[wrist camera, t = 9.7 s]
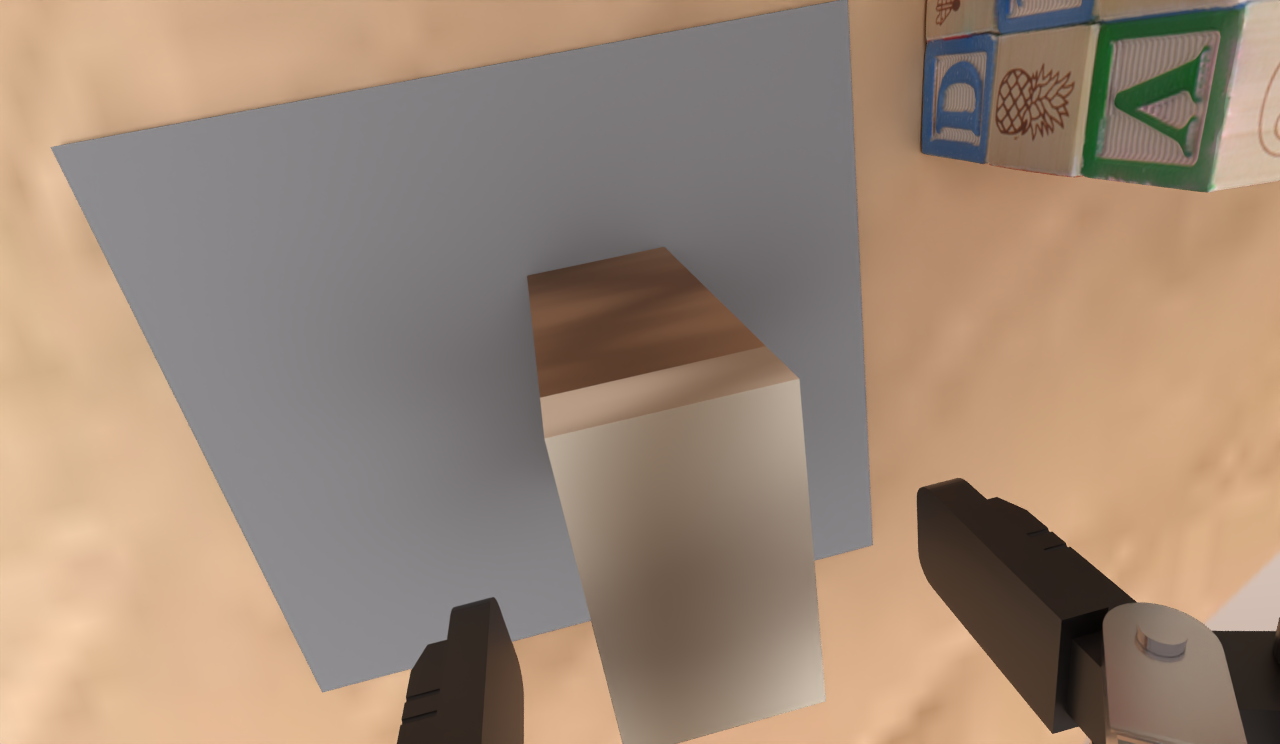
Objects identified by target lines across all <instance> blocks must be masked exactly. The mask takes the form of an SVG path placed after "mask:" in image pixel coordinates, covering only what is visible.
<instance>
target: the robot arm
mask: <svg viewBox="0 0 1280 744" xmlns="http://www.w3.org/2000/svg"><path fill="white" fill-rule="evenodd" d="M917 521H918V552H919V559H920V563H921V566H922V569H923V572H924V574H925V576H926V578H927V580H928V582H929V583H930V585H931V586H932V588H933V589H934V590H935V591H936V593H937V594H938V595H939V596H940V597H941V599H942V600H943V601H944V602H945V604H946V605H947V606H948V607H949V608H950V610H951V611H952V612H953V613H954V614H955V616H956V617H957V618H958V619H959V621H960V622H961V623H962V624H963V625H964V627H965V628H966V629H967V630H968V632H969V633H970V634H971V635H972V636H973V638H974V639H975V640H976V641H977V642H978V644H979V645H980V646H981V647H982V649H983V650H984V651H985V652H986V653H987V655H988V656H989V657H990V658H991V660H992V661H993V662H994V663H995V664H996V666H997V667H998V668H999V669H1000V670H1001V672H1002V673H1003V674H1004V675H1005V677H1006V678H1007V679H1008V680H1009V681H1010V683H1011V684H1012V685H1013V686H1014V687H1015V689H1016V690H1017V691H1018V692H1019V694H1020V695H1021V696H1022V697H1023V698H1024V700H1025V701H1026V702H1027V703H1028V705H1029V706H1030V707H1031V708H1032V709H1033V711H1034V712H1035V713H1036V714H1037V715H1038V717H1039V718H1040V719H1041V720H1042V722H1043V723H1044V724H1045V725H1046V726H1047V728H1048V729H1049V730H1050V731H1051V733H1052V734H1054V733H1058V732H1061V731H1064V730H1068V729H1071V728H1075V727H1078V726H1079V727H1080V728H1081V729H1082V731H1083V732H1084V733H1085V734H1086V735H1087V736H1088V737H1089V739H1090V744H1280V618H1279V622H1278V626H1277V630H1276V631H1211V630H1210V629H1209V628H1207V626H1205V625H1204V624H1203V623H1201V622H1200V621H1198V620H1197V619H1195V618H1194V617H1192V616H1190V615H1188V614H1186V613H1184V612H1181V611H1179V610H1176V609H1173V608H1170V607H1167V606H1163V605H1158V604H1152V603H1137V602H1136V601H1135V600H1133V599H1132V598H1131V597H1130V596H1129V595H1128V594H1126V593H1125V592H1124V591H1123V590H1122V589H1120V588H1119V587H1118V586H1117V585H1116V584H1114V583H1113V582H1112V581H1111V580H1110V579H1108V578H1107V577H1106V576H1105V575H1104V574H1102V573H1101V572H1100V571H1099V570H1098V569H1096V568H1095V567H1094V566H1093V565H1092V564H1090V563H1089V562H1088V561H1087V560H1086V559H1084V558H1083V557H1082V556H1081V555H1080V554H1078V553H1077V552H1076V551H1075V550H1074V549H1072V548H1071V547H1067V546H1066V543H1065V542H1064V541H1063V540H1062V539H1060V538H1059V537H1058V536H1057V535H1056V534H1054V533H1053V532H1049V530H1048V528H1047V527H1046V526H1045V525H1044V524H1042V523H1041V522H1040V521H1039V520H1038V519H1036V518H1035V517H1034V516H1033V515H1032V514H1030V513H1029V512H1028V511H1027V510H1025V509H1023V508H1021V507H1018V506H1016V505H1014V504H1012V503H1009V502H1007V501H1005V500H1003V499H1000V498H998V497H995V498H991V499H986V498H985V497H984V496H982V495H981V494H980V493H979V492H978V491H977V490H976V489H975V488H973V487H972V486H971V485H970V484H969V483H968V482H966V481H965V480H964V479H961V478H956V479H952V480H948V481H944V482H941V483H937V484H933V485H929V486H925V487H921V488H920V489H919V490H918V493H917ZM406 700H407V702H406V703H405V705H404V710H403V715H402V725H400V731H399V736H398V741H397V744H524V692H523V682H522V675H521V670H520V666H519V662H518V658H517V655H516V652H515V650H514V647H513V644H512V641H511V638H510V635H509V633H508V630H507V627H506V624H505V621H504V618H503V616H502V613H501V610H500V607H499V604H498V602H497V600H496V599H495V598H494V597H491V598H487V599H483V600H479V601H475V602H471V603H468V604H464V605H460V606H456V607H453V608H452V610H451V614H450V621H449V628H448V635H447V640H443V641H439V642H436V643H432V644H428V645H427V646H426V648H425V649H424V651H423V653H422V654H421V656H420V657H419V659H418V661H417V662H416V664H415V665H414V667H413V669H412V670H411V674H410V679H409V684H408V689H407V695H406Z"/></svg>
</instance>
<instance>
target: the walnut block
mask: <svg viewBox="0 0 1280 744" xmlns="http://www.w3.org/2000/svg"><path fill="white" fill-rule="evenodd" d="M527 281H528V290H529V300H530V309H531V318H532V328H533V337H534V346H535V356H536V365H537V374H538V384H539V393H540V402H541V412H542V421H543V430H544V439H545V443H546V447H547V451H548V455H549V459H550V462H551V466H552V470H553V474H554V478H555V482H556V486H557V490H558V494H559V498H560V501H561V505H562V509H563V513H564V517H565V521H566V525H567V529H568V533H569V537H570V540H571V544H572V548H573V552H574V556H575V560H576V564H577V568H578V572H579V576H580V579H581V583H582V587H583V591H584V595H585V599H586V603H587V607H588V611H589V615H590V618H591V622H592V626H593V630H594V634H595V638H596V642H597V646H598V650H599V654H600V657H601V661H602V665H603V669H604V673H605V677H606V681H607V685H608V689H609V693H610V696H611V700H612V704H613V708H614V712H615V716H616V720H617V724H618V728H619V732H620V735H621V739H622V743H623V744H677V743H681V742H684V741H688V740H691V739H695V738H698V737H702V736H706V735H709V734H713V733H716V732H720V731H723V730H727V729H730V728H734V727H737V726H741V725H744V724H748V723H751V722H755V721H758V720H762V719H765V718H769V717H772V716H776V715H779V714H783V713H786V712H790V711H794V710H797V709H801V708H804V707H808V706H811V705H815V704H818V703H822V702H825V701H826V698H825V686H824V673H823V661H822V649H821V637H820V625H819V612H818V600H817V588H816V576H815V563H814V551H813V539H812V527H811V515H810V502H809V490H808V478H807V466H806V454H805V441H804V429H803V417H802V405H801V393H800V380H799V378H798V377H797V376H796V375H795V374H794V373H793V372H792V371H791V370H790V369H789V368H788V367H787V366H786V365H785V364H784V363H783V362H782V361H781V360H780V359H779V358H778V357H777V356H776V355H775V354H774V353H773V352H772V351H770V350H769V349H768V348H767V347H766V346H765V345H764V344H763V343H762V342H761V341H760V340H759V339H758V338H757V337H756V336H755V335H754V334H753V333H752V332H751V331H750V330H749V329H748V328H747V327H746V326H745V325H744V324H743V323H742V322H741V321H740V320H739V319H738V318H737V317H736V316H735V315H734V314H733V313H732V312H731V311H730V310H729V309H728V308H727V307H725V306H724V305H723V304H722V303H721V302H720V301H719V300H718V299H717V298H716V297H715V296H714V295H713V294H712V293H711V292H710V291H709V290H708V289H707V288H706V287H705V286H704V285H703V284H702V283H701V282H700V281H699V280H698V279H697V278H696V277H695V276H694V275H693V274H692V273H691V272H690V271H689V270H688V269H687V268H686V267H685V266H684V265H683V264H682V263H680V262H679V261H678V260H677V259H676V258H675V257H674V256H673V255H672V254H671V253H670V252H669V251H668V250H667V249H666V248H665V247H661V248H656V249H651V250H646V251H642V252H637V253H632V254H627V255H623V256H618V257H613V258H608V259H604V260H599V261H594V262H589V263H585V264H580V265H575V266H570V267H566V268H561V269H556V270H551V271H547V272H542V273H537V274H532V275H528V276H527Z"/></svg>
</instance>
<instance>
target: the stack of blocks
mask: <svg viewBox="0 0 1280 744" xmlns="http://www.w3.org/2000/svg"><path fill="white" fill-rule="evenodd" d="M926 40H927V47H926V52H925V68H924V88H923V117H922V153H924V154H927V155H932V156H938V157H945V158H951V159H957V160H964V161H970V162H975V163H980V164H985V163H989V164H990V165H992V166H998V167H1004V168H1010V169H1015V170H1022V171H1029V172H1036V173H1043V174H1050V175H1057V176H1067V177H1080V176H1085V177H1089V178H1095V179H1103V180H1111V181H1118V182H1126V183H1134V184H1142V185H1150V186H1158V187H1166V188H1174V189H1182V190H1190V191H1199V192H1213V191H1219V190H1226V189H1232V188H1239V187H1245V186H1252V185H1258V184H1263V183H1269V182H1275V181H1280V0H927V15H926Z"/></svg>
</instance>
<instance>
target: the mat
mask: <svg viewBox="0 0 1280 744" xmlns="http://www.w3.org/2000/svg"><path fill="white" fill-rule="evenodd" d="M51 149H52V151H53V153H54V155H55V157H56V159H57V161H58V163H59V165H60V167H61V169H62V171H63V173H64V175H65V177H66V179H67V181H68V183H69V185H70V187H71V189H72V191H73V193H74V195H75V197H76V199H77V201H78V203H79V205H80V207H81V209H82V211H83V213H84V215H85V217H86V219H87V221H88V223H89V225H90V227H91V229H92V231H93V233H94V235H95V237H96V239H97V241H98V243H99V245H100V247H101V249H102V251H103V253H104V255H105V257H106V259H107V261H108V263H109V265H110V267H111V269H112V271H113V273H114V275H115V277H116V279H117V281H118V283H119V285H120V287H121V289H122V291H123V293H124V295H125V297H126V299H127V301H128V303H129V305H130V307H131V309H132V311H133V313H134V315H135V317H136V319H137V321H138V323H139V325H140V327H141V330H142V332H143V334H144V336H145V338H146V340H147V342H148V344H149V346H150V348H151V350H152V352H153V354H154V356H155V358H156V360H157V362H158V364H159V366H160V368H161V370H162V372H163V374H164V376H165V378H166V380H167V382H168V384H169V386H170V388H171V390H172V392H173V394H174V396H175V398H176V400H177V402H178V404H179V406H180V408H181V410H182V412H183V414H184V416H185V418H186V420H187V422H188V424H189V426H190V428H191V430H192V432H193V434H194V436H195V438H196V440H197V442H198V444H199V446H200V448H201V450H202V452H203V454H204V456H205V458H206V460H207V462H208V464H209V466H210V468H211V470H212V472H213V474H214V476H215V478H216V480H217V482H218V484H219V486H220V488H221V490H222V492H223V494H224V496H225V498H226V500H227V502H228V504H229V506H230V508H231V510H232V512H233V514H234V516H235V518H236V520H237V522H238V524H239V526H240V528H241V530H242V532H243V534H244V536H245V538H246V540H247V542H248V544H249V546H250V548H251V550H252V552H253V554H254V556H255V558H256V560H257V562H258V564H259V566H260V568H261V570H262V572H263V574H264V576H265V578H266V580H267V582H268V584H269V586H270V588H271V590H272V592H273V594H274V596H275V598H276V600H277V602H278V604H279V606H280V608H281V610H282V612H283V614H284V617H285V619H286V621H287V623H288V625H289V627H290V629H291V631H292V633H293V635H294V637H295V639H296V641H297V643H298V645H299V647H300V649H301V651H302V653H303V655H304V657H305V659H306V661H307V663H308V665H309V667H310V669H311V671H312V673H313V675H314V677H315V679H316V681H317V683H318V685H319V687H320V689H321V691H322V692H326V691H330V690H333V689H337V688H341V687H344V686H348V685H352V684H356V683H359V682H363V681H367V680H371V679H374V678H378V677H382V676H386V675H389V674H393V673H397V672H401V671H404V670H408V669H412V668H413V667H414V665H415V664H416V662H417V661H418V659H419V657H420V656H421V654H422V653H423V651H424V649H425V648H426V646H427V645H428V644H432V643H436V642H439V641H443V640H447V635H448V628H449V621H450V614H451V610H452V608H453V607H456V606H460V605H464V604H468V603H471V602H475V601H479V600H483V599H487V598H491V597H494V598H495V599H496V600H497V602H498V604H499V607H500V610H501V613H502V616H503V618H504V621H505V624H506V627H507V630H508V633H509V635H510V638H511V641H512V642H513V641H516V640H520V639H524V638H528V637H531V636H535V635H539V634H542V633H546V632H550V631H554V630H557V629H561V628H565V627H569V626H572V625H576V624H580V623H584V622H587V621H591V618H590V615H589V611H588V607H587V603H586V599H585V595H584V591H583V587H582V583H581V579H580V576H579V572H578V568H577V564H576V560H575V556H574V552H573V548H572V544H571V540H570V537H569V533H568V529H567V525H566V521H565V517H564V513H563V509H562V505H561V501H560V498H559V494H558V490H557V486H556V482H555V478H554V474H553V470H552V466H551V462H550V459H549V455H548V451H547V447H546V443H545V439H544V430H543V421H542V412H541V402H540V393H539V384H538V374H537V365H536V356H535V346H534V337H533V328H532V318H531V309H530V300H529V290H528V281H527V276H528V275H532V274H537V273H542V272H547V271H551V270H556V269H561V268H566V267H570V266H575V265H580V264H585V263H589V262H594V261H599V260H604V259H608V258H613V257H618V256H623V255H627V254H632V253H637V252H642V251H646V250H651V249H656V248H661V247H665V248H666V249H667V250H668V251H669V252H670V253H671V254H672V255H673V256H674V257H675V258H676V259H677V260H678V261H679V262H680V263H682V264H683V265H684V266H685V267H686V268H687V269H688V270H689V271H690V272H691V273H692V274H693V275H694V276H695V277H696V278H697V279H698V280H699V281H700V282H701V283H702V284H703V285H704V286H705V287H706V288H707V289H708V290H709V291H710V292H711V293H712V294H713V295H714V296H715V297H716V298H717V299H718V300H719V301H720V302H721V303H722V304H723V305H724V306H725V307H727V308H728V309H729V310H730V311H731V312H732V313H733V314H734V315H735V316H736V317H737V318H738V319H739V320H740V321H741V322H742V323H743V324H744V325H745V326H746V327H747V328H748V329H749V330H750V331H751V332H752V333H753V334H754V335H755V336H756V337H757V338H758V339H759V340H760V341H761V342H762V343H763V344H764V345H765V346H766V347H767V348H768V349H769V350H770V351H772V352H773V353H774V354H775V355H776V356H777V357H778V358H779V359H780V360H781V361H782V362H783V363H784V364H785V365H786V366H787V367H788V368H789V369H790V370H791V371H792V372H793V373H794V374H795V375H796V376H797V377H798V378H799V380H800V393H801V405H802V417H803V429H804V441H805V454H806V466H807V478H808V490H809V502H810V515H811V527H812V539H813V551H814V561H815V560H819V559H823V558H826V557H830V556H834V555H838V554H841V553H845V552H849V551H853V550H856V549H860V548H864V547H868V546H871V545H873V540H872V518H871V496H870V474H869V453H868V431H867V409H866V387H865V365H864V343H863V321H862V300H861V278H860V256H859V234H858V212H857V190H856V169H855V147H854V125H853V103H852V81H851V59H850V37H849V16H848V0H838V1H833V2H828V3H822V4H817V5H812V6H806V7H801V8H795V9H790V10H785V11H779V12H774V13H769V14H763V15H758V16H752V17H747V18H742V19H736V20H731V21H726V22H720V23H715V24H710V25H704V26H699V27H693V28H688V29H683V30H677V31H672V32H667V33H661V34H656V35H650V36H645V37H640V38H634V39H629V40H624V41H618V42H613V43H608V44H602V45H597V46H591V47H586V48H581V49H575V50H570V51H565V52H559V53H554V54H548V55H543V56H538V57H532V58H527V59H522V60H516V61H511V62H506V63H500V64H495V65H489V66H484V67H479V68H473V69H468V70H463V71H457V72H452V73H446V74H441V75H436V76H430V77H425V78H420V79H414V80H409V81H404V82H398V83H393V84H387V85H382V86H377V87H371V88H366V89H361V90H355V91H350V92H344V93H339V94H334V95H328V96H323V97H318V98H312V99H307V100H302V101H296V102H291V103H285V104H280V105H275V106H269V107H264V108H259V109H253V110H248V111H242V112H237V113H232V114H226V115H221V116H216V117H210V118H205V119H200V120H194V121H189V122H183V123H178V124H173V125H167V126H162V127H157V128H151V129H146V130H140V131H135V132H130V133H124V134H119V135H114V136H108V137H103V138H98V139H92V140H87V141H81V142H76V143H71V144H65V145H60V146H55V147H51Z"/></svg>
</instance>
